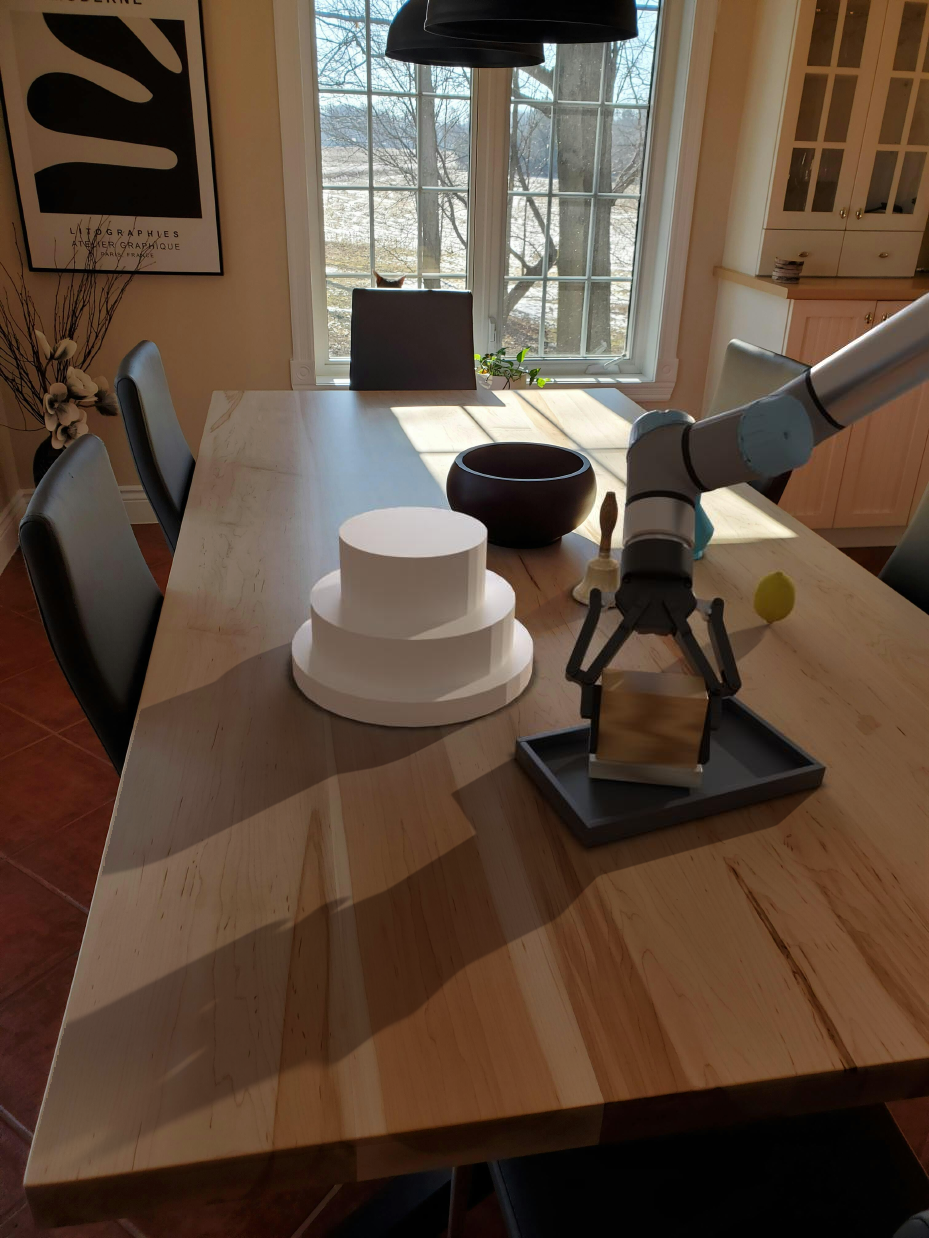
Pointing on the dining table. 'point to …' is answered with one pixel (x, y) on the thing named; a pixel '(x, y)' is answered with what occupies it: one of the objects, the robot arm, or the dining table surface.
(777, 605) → the lemon
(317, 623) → the cake
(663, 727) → the eraser
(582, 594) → the hand bell
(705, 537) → the perfume bottle
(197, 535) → the dining table surface
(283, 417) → the dining table surface
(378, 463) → the dining table surface
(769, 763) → the tray
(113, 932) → the dining table surface
